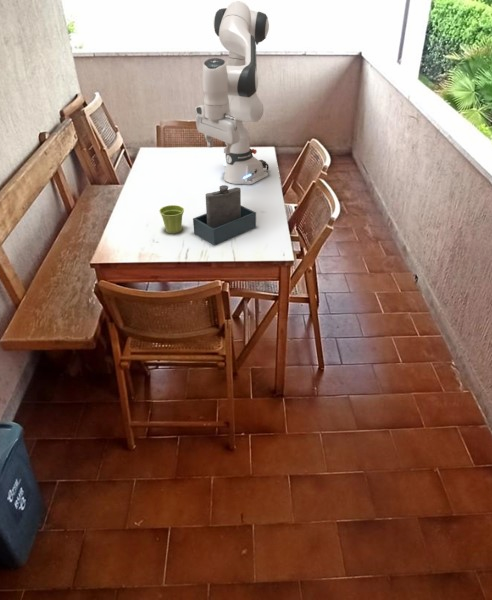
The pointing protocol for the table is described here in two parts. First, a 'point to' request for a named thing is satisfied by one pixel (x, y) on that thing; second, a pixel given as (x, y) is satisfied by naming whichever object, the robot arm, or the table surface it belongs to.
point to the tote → (224, 227)
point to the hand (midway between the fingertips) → (218, 149)
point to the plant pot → (172, 218)
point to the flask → (223, 206)
